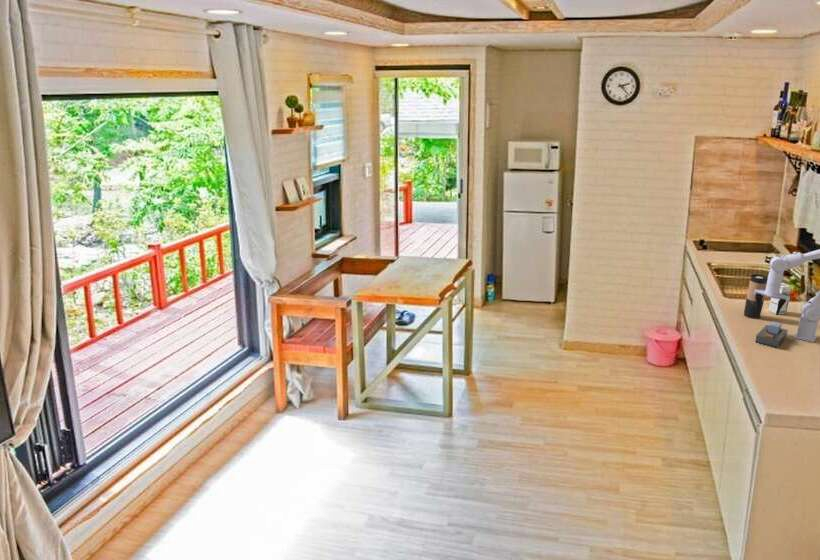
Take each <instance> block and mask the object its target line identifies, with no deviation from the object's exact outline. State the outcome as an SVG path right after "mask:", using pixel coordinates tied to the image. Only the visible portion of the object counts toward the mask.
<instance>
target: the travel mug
mask: <svg viewBox="0 0 820 560" xmlns="http://www.w3.org/2000/svg"><path fill="white" fill-rule="evenodd" d="M767 280H768V276H767V275H762V274H758V273H756V274H751V275H750V279H749V284H748V289H747V292H746V293H747V294H746V297H745V299H746V300H745V305H744V311H743V316H744V317H746V318H749V319H755V318H757V319H760V317H761V314H762V310H763V307H764V301H765V297H766V296H763V299H762V303H761V309H760V311H758V306H757V301H756V298H755V296H756V294H754V290H755V289H757V290H766V285H767Z"/></svg>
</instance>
